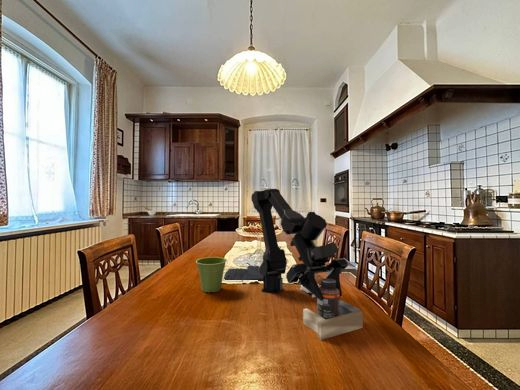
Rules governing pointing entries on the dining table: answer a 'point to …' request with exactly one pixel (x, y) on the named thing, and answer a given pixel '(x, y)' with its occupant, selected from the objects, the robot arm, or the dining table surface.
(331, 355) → the dining table surface
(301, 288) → the white skull
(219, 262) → the plant pot
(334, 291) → the supplement bottle
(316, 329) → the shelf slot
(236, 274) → the dark slate chunk
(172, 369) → the dining table surface
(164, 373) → the dining table surface
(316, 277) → the pastry
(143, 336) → the dining table surface
